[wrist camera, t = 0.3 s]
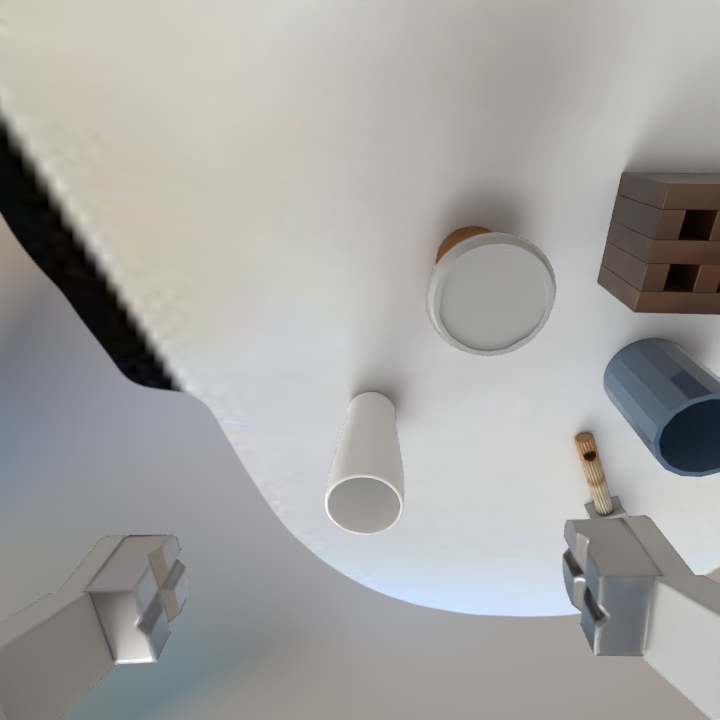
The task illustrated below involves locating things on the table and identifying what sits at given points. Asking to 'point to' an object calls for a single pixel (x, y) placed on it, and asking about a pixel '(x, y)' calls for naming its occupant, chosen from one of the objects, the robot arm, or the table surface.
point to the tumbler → (669, 404)
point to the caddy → (665, 243)
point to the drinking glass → (367, 468)
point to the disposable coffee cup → (489, 291)
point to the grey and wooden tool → (597, 481)
